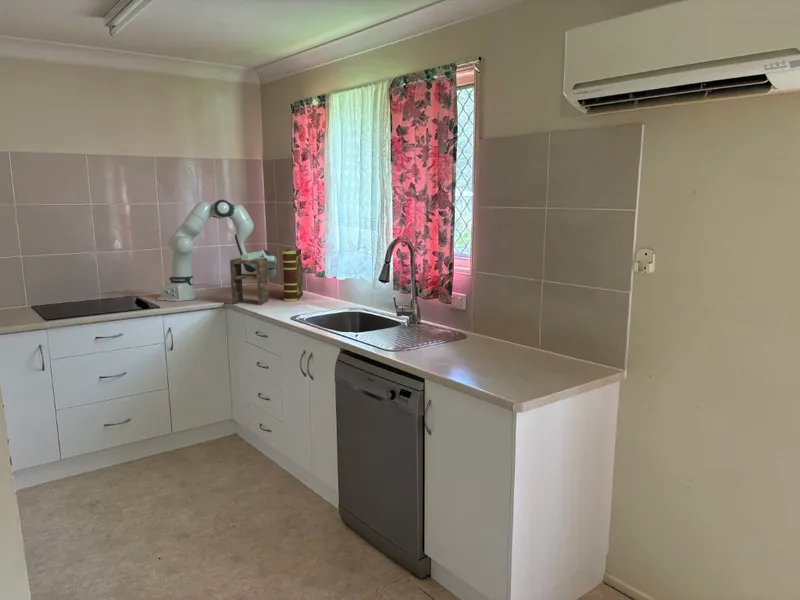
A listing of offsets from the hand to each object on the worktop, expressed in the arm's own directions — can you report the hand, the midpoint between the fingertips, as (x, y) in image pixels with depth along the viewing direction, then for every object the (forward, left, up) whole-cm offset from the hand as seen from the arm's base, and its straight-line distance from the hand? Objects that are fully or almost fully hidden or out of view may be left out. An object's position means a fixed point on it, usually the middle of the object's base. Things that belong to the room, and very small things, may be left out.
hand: (255, 254), depth 355 cm
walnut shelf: (0, -11, -28) cm, 30 cm away
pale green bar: (0, -7, -2) cm, 7 cm away
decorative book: (+20, +9, -28) cm, 35 cm away
